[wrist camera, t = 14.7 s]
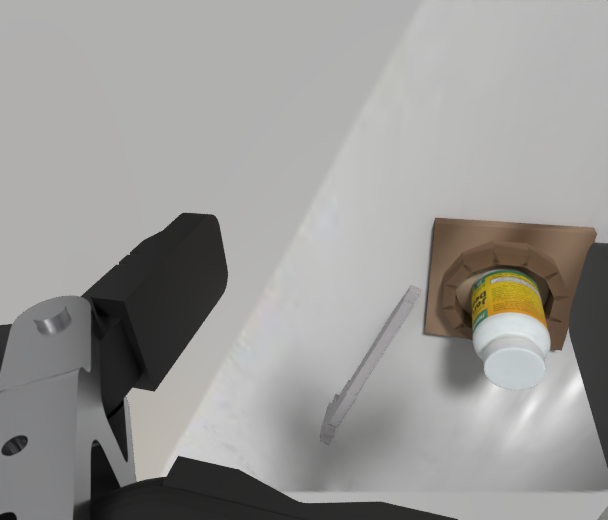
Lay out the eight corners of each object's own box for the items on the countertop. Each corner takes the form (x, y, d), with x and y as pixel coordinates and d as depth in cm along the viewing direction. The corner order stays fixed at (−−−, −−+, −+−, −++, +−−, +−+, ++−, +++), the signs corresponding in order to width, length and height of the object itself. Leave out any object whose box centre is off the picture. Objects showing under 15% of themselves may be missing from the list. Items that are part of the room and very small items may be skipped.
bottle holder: (593, 227, 37) (603, 247, 34) (559, 343, 43) (565, 366, 40) (435, 217, 40) (433, 234, 37) (425, 326, 46) (423, 346, 44)
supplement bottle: (532, 319, 41) (548, 403, 33) (467, 312, 42) (469, 391, 35) (544, 267, 38) (565, 347, 30) (474, 262, 39) (478, 336, 32)
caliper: (336, 406, 57) (324, 452, 51) (328, 402, 57) (315, 447, 51) (421, 288, 44) (415, 332, 39) (410, 283, 44) (403, 326, 39)
